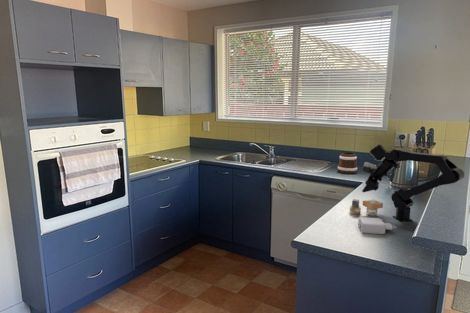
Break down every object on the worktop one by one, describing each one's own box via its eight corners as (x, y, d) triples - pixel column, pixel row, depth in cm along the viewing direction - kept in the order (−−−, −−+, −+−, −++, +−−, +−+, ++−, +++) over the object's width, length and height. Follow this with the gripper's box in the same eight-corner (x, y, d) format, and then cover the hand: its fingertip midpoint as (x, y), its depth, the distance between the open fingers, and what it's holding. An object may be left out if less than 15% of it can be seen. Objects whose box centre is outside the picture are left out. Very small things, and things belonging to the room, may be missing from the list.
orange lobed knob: (377, 214, 171) (378, 200, 170) (377, 217, 166) (378, 203, 165) (366, 212, 173) (367, 198, 172) (366, 216, 168) (366, 201, 167)
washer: (382, 207, 167) (382, 203, 167) (371, 209, 165) (371, 204, 164) (373, 203, 173) (373, 199, 173) (362, 205, 171) (362, 200, 171)
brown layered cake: (358, 174, 259) (359, 155, 257) (338, 173, 262) (339, 154, 260) (355, 169, 278) (356, 151, 276) (336, 168, 281) (336, 150, 279)
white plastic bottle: (398, 236, 145) (362, 233, 147) (392, 228, 154) (357, 226, 156) (399, 225, 144) (362, 223, 146) (393, 218, 153) (358, 216, 155)
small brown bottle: (361, 212, 174) (361, 199, 173) (359, 215, 169) (360, 202, 168) (350, 210, 176) (351, 198, 175) (348, 213, 172) (349, 200, 171)
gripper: (373, 150, 177) (355, 170, 186) (367, 166, 162) (347, 186, 172) (392, 163, 175) (372, 182, 185) (387, 180, 161) (366, 200, 170)
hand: (364, 187), depth 178 cm, fingers open, 9 cm apart
